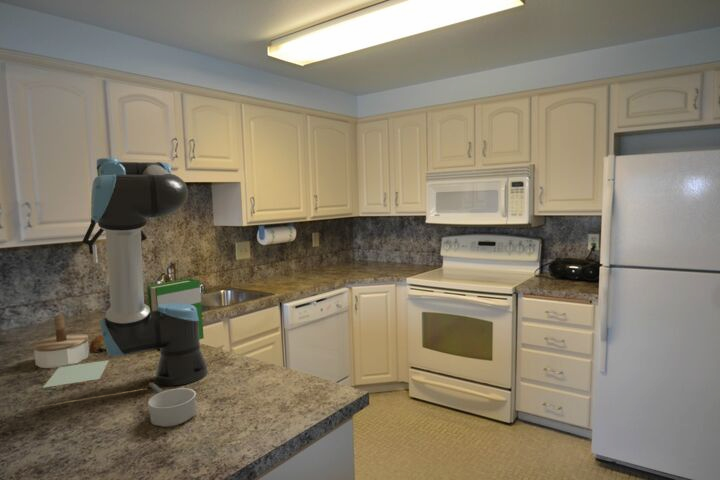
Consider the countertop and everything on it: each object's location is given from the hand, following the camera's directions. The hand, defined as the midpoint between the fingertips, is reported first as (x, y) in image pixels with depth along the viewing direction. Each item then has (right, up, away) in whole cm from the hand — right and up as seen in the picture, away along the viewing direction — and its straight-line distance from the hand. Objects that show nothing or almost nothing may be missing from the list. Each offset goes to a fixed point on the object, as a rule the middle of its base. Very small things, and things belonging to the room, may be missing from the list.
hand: (117, 261), depth 160 cm
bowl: (-18, -36, -2) cm, 40 cm away
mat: (-5, -36, -15) cm, 40 cm away
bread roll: (-10, -35, +10) cm, 37 cm away
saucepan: (+37, -38, -44) cm, 69 cm away
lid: (-18, -29, -3) cm, 35 cm away
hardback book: (+16, -33, +15) cm, 40 cm away
